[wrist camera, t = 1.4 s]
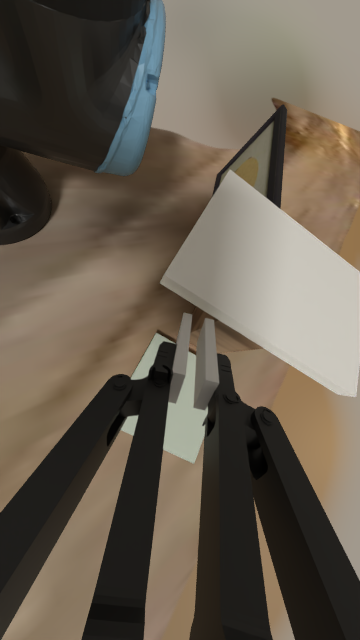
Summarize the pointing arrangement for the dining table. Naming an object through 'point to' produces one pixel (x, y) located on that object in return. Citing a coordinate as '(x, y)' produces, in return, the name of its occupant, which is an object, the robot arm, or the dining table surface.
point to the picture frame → (262, 159)
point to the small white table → (272, 284)
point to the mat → (175, 409)
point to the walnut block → (220, 334)
